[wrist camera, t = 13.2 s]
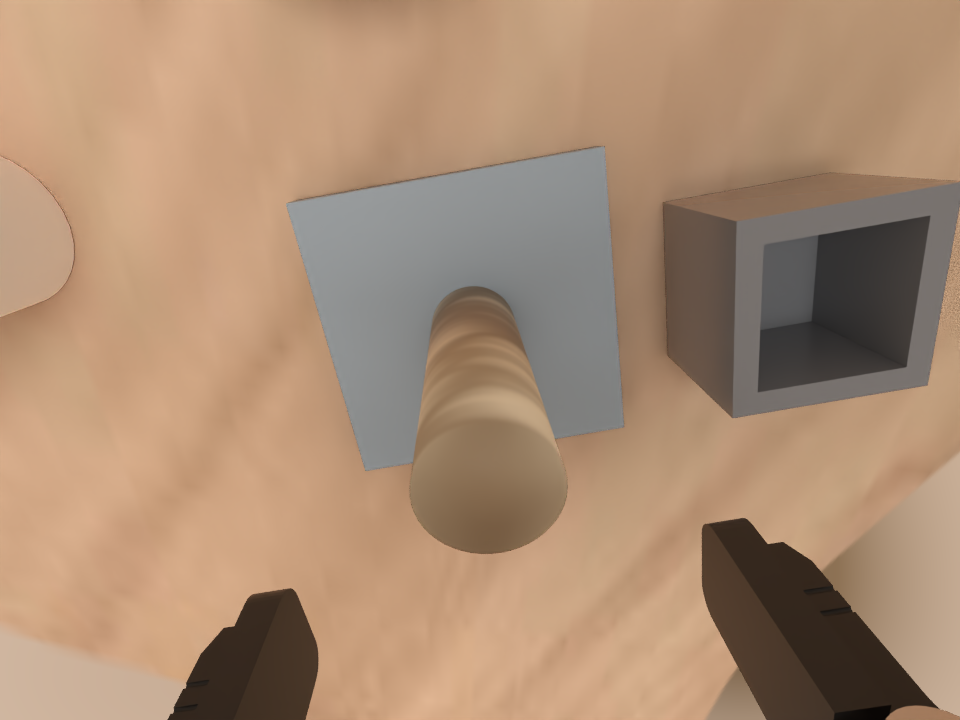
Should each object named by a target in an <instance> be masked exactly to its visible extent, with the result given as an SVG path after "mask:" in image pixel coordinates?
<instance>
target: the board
mask: <svg viewBox="0 0 960 720" xmlns="http://www.w3.org/2000/svg"><path fill="white" fill-rule="evenodd" d="M286 206H287V209H288V212H289V216H290V219H291V222H292V226H293V229H294V232H295V236H296V239H297V242H298V246H299V249H300V253H301V256H302V259H303V263H304V266H305V269H306V273H307V276H308V279H309V283H310V286H311V289H312V293H313V296H314V300H315V303H316V306H317V310H318V313H319V316H320V320H321V323H322V326H323V330H324V333H325V336H326V340H327V343H328V347H329V350H330V353H331V357H332V360H333V363H334V367H335V370H336V373H337V377H338V380H339V383H340V387H341V390H342V393H343V397H344V400H345V404H346V407H347V410H348V414H349V417H350V420H351V424H352V427H353V430H354V434H355V437H356V440H357V444H358V447H359V451H360V454H361V457H362V461H363V464H364V467H365V471H369V470H375V469H381V468H387V467H393V466H398V465H404V464H410V463H413V458H414V451H415V444H416V436H417V429H418V422H419V415H420V407H421V400H422V393H423V385H424V378H425V371H426V364H427V356H428V349H429V342H430V334H431V327H432V320H433V315H434V312H435V310H436V308H437V306H438V305H439V303H440V302H441V301H442V300H443V299H444V298H445V297H446V296H447V295H448V294H450V293H451V292H453V291H455V290H457V289H460V288H463V287H469V286H479V287H484V288H488V289H490V290H493V291H494V292H496V293H498V294H499V295H500V296H502V297H503V298H504V299H505V300H506V302H507V303H508V304H509V306H510V308H511V310H512V313H513V315H514V318H515V321H516V324H517V327H518V330H519V333H520V336H521V339H522V342H523V345H524V348H525V351H526V354H527V357H528V360H529V363H530V366H531V369H532V372H533V375H534V378H535V381H536V384H537V387H538V390H539V393H540V396H541V399H542V402H543V405H544V408H545V411H546V414H547V417H548V420H549V423H550V426H551V429H552V432H553V435H554V438H555V439H558V438H564V437H570V436H575V435H581V434H587V433H593V432H599V431H605V430H611V429H617V428H623V427H624V418H623V404H622V389H621V375H620V361H619V346H618V332H617V318H616V303H615V289H614V275H613V260H612V246H611V232H610V217H609V203H608V189H607V175H606V160H605V146H598V147H590V148H585V149H579V150H574V151H568V152H562V153H557V154H551V155H546V156H540V157H535V158H529V159H524V160H518V161H512V162H507V163H501V164H496V165H490V166H485V167H479V168H474V169H468V170H462V171H457V172H451V173H446V174H440V175H435V176H429V177H423V178H418V179H412V180H407V181H401V182H396V183H390V184H385V185H379V186H373V187H368V188H362V189H357V190H351V191H346V192H340V193H334V194H329V195H323V196H318V197H312V198H307V199H301V200H296V201H293V202H290V203H287V204H286Z"/></svg>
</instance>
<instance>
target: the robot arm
mask: <svg viewBox="0 0 960 720" xmlns="http://www.w3.org/2000/svg"><path fill="white" fill-rule="evenodd" d="M702 587H703V593H704V597H705V601H706V604H707V607H708V610H709V612H710V615H711V617H712V619H713V621H714V623H715V625H716V626H717V628H718V630H719V632H720V634H721V636H722V638H723V639H724V641H725V643H726V645H727V647H728V649H729V651H730V653H731V654H732V656H733V658H734V660H735V662H736V664H737V666H738V667H739V669H740V671H741V673H742V675H743V677H744V679H745V681H746V682H747V684H748V686H749V688H750V690H751V692H752V694H753V695H754V697H755V699H756V701H757V703H758V705H759V706H760V708H761V710H762V712H763V714H764V716H765V718H766V719H767V720H960V717H959V716H957V715H954V714H952V713H950V712H947V711H944V710H940V709H939V708H938V707H937V706H936V705H935V704H934V703H933V702H932V701H931V700H930V699H929V698H928V697H927V696H926V695H925V693H924V692H923V691H922V690H921V689H920V688H919V686H918V685H917V684H916V683H915V682H914V681H913V679H912V678H911V677H910V676H909V675H908V674H907V673H906V671H905V670H904V669H903V668H902V666H901V665H900V664H899V663H898V662H897V661H896V659H895V658H894V657H893V656H892V655H891V653H890V652H889V651H888V650H887V649H886V648H885V646H884V645H883V644H882V643H881V642H880V641H879V639H878V638H877V637H876V636H875V635H874V634H873V632H872V631H871V630H870V629H869V628H868V626H867V625H866V624H865V623H864V622H863V621H862V619H861V618H860V617H859V616H858V615H857V614H856V612H852V610H851V606H850V605H849V604H848V603H847V602H846V601H845V599H844V598H843V597H842V596H841V595H840V593H839V592H838V591H835V590H834V589H833V585H832V584H831V583H830V582H829V581H828V579H827V578H826V577H825V576H824V575H823V573H822V572H821V571H820V570H819V569H818V568H817V566H816V565H815V564H814V563H813V562H812V561H811V560H810V559H808V558H807V557H805V556H803V555H802V554H800V553H799V552H797V551H796V550H794V549H793V548H791V547H790V546H788V545H787V544H785V543H784V542H780V543H773V544H767V543H766V542H765V540H764V539H763V538H762V536H761V535H760V534H759V533H758V531H757V530H756V529H755V527H754V526H753V525H752V524H751V523H750V522H749V521H748V520H747V519H745V518H741V519H734V520H728V521H722V522H715V523H709V524H704V525H703V528H702ZM317 672H318V648H317V644H316V640H315V638H314V635H313V633H312V630H311V628H310V625H309V623H308V620H307V618H306V616H305V613H304V611H303V608H302V606H301V603H300V601H299V598H298V596H297V594H296V592H295V591H294V590H293V589H291V588H290V589H283V590H277V591H270V592H264V593H258V594H253V595H251V596H250V597H249V598H248V599H247V601H246V603H245V605H244V607H243V609H242V611H241V613H240V615H239V618H238V620H237V622H236V624H235V626H234V627H227V628H223V630H222V631H221V632H220V633H219V634H218V635H217V636H216V638H215V639H214V640H213V641H212V642H211V643H210V644H209V646H208V647H207V648H206V649H205V650H204V651H203V652H202V653H201V655H200V657H199V659H198V661H197V663H196V665H195V667H194V669H193V671H192V673H191V675H190V677H189V679H188V681H187V683H186V685H187V686H186V689H183V690H182V693H181V694H180V696H179V699H178V700H177V702H176V704H175V706H174V713H173V714H170V716H169V718H168V720H305V719H306V715H307V712H308V708H309V704H310V700H311V697H312V693H313V689H314V685H315V682H316V678H317Z"/></svg>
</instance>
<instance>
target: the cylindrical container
mask: <svg viewBox="0 0 960 720" xmlns="http://www.w3.org/2000/svg"><path fill="white" fill-rule="evenodd" d="M73 262H74V242H73V238H72V233H71V229H70V226H69V224H68V222H67V219H66V217H65V215H64V212H63V211H62V209H61V208H60V206H59V205H58V203H57V201H56V200H55V198H54V197H53V196H52V194H51V193H50V192H49V191H48V190H47V189H46V188H45V187H44V186H43V185H42V183H41V182H40V181H38V180H37V179H36V178H35V177H34V176H32V175H31V174H30V173H29V172H28V171H26V170H25V169H23V168H22V167H20V166H18V165H17V164H15V163H13V162H12V161H10V160H8V159H6V158H3V157H1V156H0V317H2V316H5V315H8V314H10V313H13V312H16V311H18V310H21V309H24V308H26V307H29V306H32V305H34V304H37V303H39V302H42V301H45V300H47V299H49V298H50V297H52V296H53V295H54V294H56V293H57V292H58V291H59V290H60V289H61V288H62V287H63V285H64V284H65V283H66V282H67V280H68V277H69V275H70V273H71V271H72V266H73Z"/></svg>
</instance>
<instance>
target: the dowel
mask: <svg viewBox="0 0 960 720" xmlns="http://www.w3.org/2000/svg"><path fill="white" fill-rule="evenodd" d="M567 489H568V484H567V475H566V470H565V467H564V464H563V461H562V458H561V455H560V452H559V450H558V447H557V444H556V441H555V438H554V435H553V432H552V429H551V426H550V423H549V420H548V417H547V414H546V411H545V408H544V405H543V402H542V399H541V396H540V393H539V390H538V387H537V384H536V381H535V378H534V375H533V372H532V369H531V366H530V363H529V360H528V357H527V354H526V351H525V348H524V345H523V342H522V339H521V336H520V333H519V330H518V327H517V324H516V321H515V318H514V315H513V313H512V310H511V308H510V306H509V304H508V303H507V302H506V300H505V299H504V298H503V297H502V296H500V295H499V294H498V293H496V292H494V291H493V290H490V289H488V288H484V287H479V286H469V287H463V288H460V289H457V290H455V291H453V292H451V293H450V294H448V295H447V296H446V297H445V298H444V299H443V300H442V301H441V302H440V303H439V305H438V306H437V308H436V310H435V312H434V315H433V320H432V327H431V334H430V342H429V349H428V356H427V364H426V371H425V378H424V385H423V393H422V400H421V407H420V415H419V422H418V429H417V436H416V444H415V451H414V458H413V466H412V473H411V480H410V500H411V505H412V508H413V511H414V513H415V515H416V517H417V519H418V521H419V522H420V523H421V525H422V526H423V527H424V529H425V530H426V531H427V532H428V533H429V534H431V535H432V536H433V537H434V538H436V539H437V540H439V541H440V542H442V543H444V544H445V545H448V546H450V547H452V548H455V549H458V550H461V551H465V552H470V553H479V554H493V553H502V552H506V551H511V550H514V549H517V548H520V547H522V546H524V545H527V544H529V543H530V542H532V541H534V540H535V539H537V538H538V537H540V536H541V535H542V534H544V533H545V532H546V531H547V530H548V529H549V528H550V527H551V526H552V525H553V523H554V522H555V521H556V520H557V518H558V516H559V515H560V513H561V511H562V509H563V507H564V504H565V500H566V497H567Z"/></svg>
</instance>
